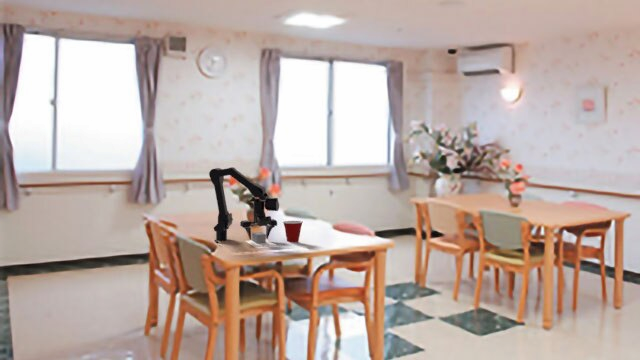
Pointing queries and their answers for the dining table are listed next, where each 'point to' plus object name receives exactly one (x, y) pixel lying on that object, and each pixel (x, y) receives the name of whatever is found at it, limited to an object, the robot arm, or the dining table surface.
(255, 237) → the block
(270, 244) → the primed board
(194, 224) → the dining table surface
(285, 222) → the plastic cup
